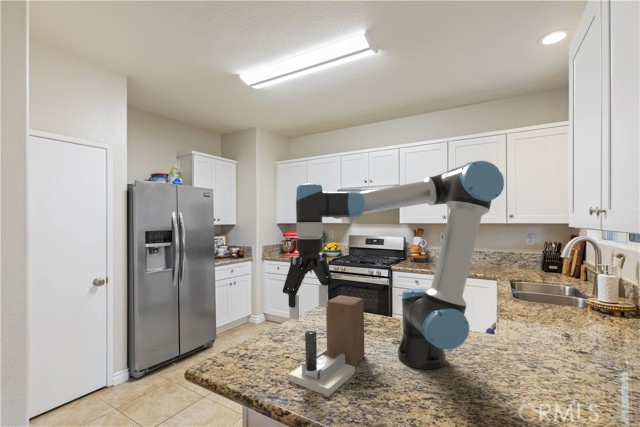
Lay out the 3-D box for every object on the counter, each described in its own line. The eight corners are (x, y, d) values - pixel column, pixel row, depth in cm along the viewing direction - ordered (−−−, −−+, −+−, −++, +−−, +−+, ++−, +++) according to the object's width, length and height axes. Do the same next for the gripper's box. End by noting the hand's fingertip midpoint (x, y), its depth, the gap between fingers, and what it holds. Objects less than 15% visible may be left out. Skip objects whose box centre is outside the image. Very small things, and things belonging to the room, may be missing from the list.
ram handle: (334, 366, 90) (334, 325, 90) (314, 381, 81) (313, 336, 82) (322, 362, 92) (322, 322, 93) (301, 377, 84) (301, 333, 84)
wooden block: (353, 369, 93) (351, 304, 93) (325, 361, 98) (324, 300, 99) (365, 356, 101) (364, 297, 102) (340, 350, 106) (339, 294, 107)
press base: (354, 373, 90) (354, 356, 90) (328, 396, 78) (328, 377, 78) (317, 361, 98) (317, 346, 98) (288, 380, 86) (288, 363, 86)
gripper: (323, 236, 97) (323, 300, 97) (268, 239, 77) (268, 322, 76) (342, 236, 93) (343, 304, 92) (290, 240, 73) (291, 327, 72)
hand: (309, 312), depth 84 cm, fingers open, 13 cm apart
